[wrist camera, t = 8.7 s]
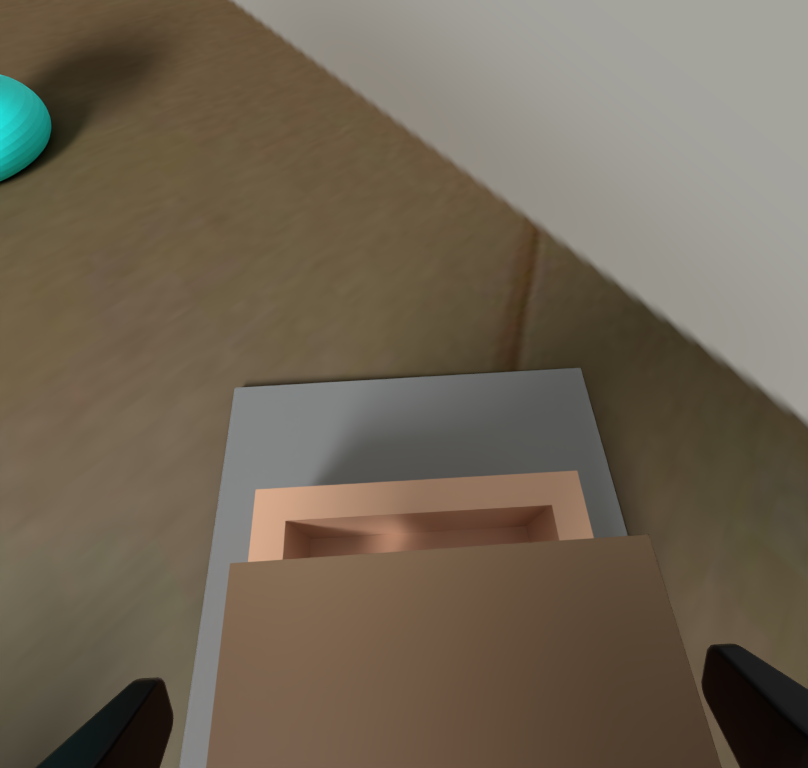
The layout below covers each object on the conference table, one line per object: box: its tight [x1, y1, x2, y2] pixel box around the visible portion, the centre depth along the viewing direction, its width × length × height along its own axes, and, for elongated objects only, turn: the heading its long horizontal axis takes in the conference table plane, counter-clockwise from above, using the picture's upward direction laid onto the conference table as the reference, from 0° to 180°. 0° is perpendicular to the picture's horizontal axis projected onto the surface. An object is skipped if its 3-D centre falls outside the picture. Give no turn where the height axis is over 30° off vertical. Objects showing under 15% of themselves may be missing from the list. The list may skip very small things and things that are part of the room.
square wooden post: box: [206, 534, 722, 768], centre depth 9 cm, size 4×4×13 cm
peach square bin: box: [248, 471, 594, 562], centre depth 13 cm, size 10×10×4 cm
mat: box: [179, 368, 628, 768], centre depth 15 cm, size 22×16×1 cm
